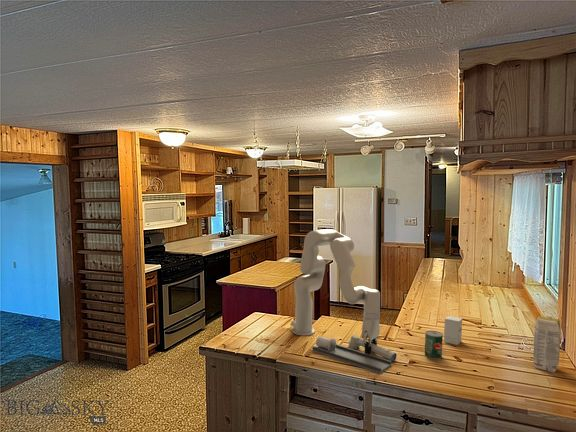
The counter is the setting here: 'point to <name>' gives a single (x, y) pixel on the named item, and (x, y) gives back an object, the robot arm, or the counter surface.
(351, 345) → the white electric toothbrush
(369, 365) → the pipe jig board
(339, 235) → the robot arm
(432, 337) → the canned tomato
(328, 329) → the counter surface
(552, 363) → the juice carton
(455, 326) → the supplement box
